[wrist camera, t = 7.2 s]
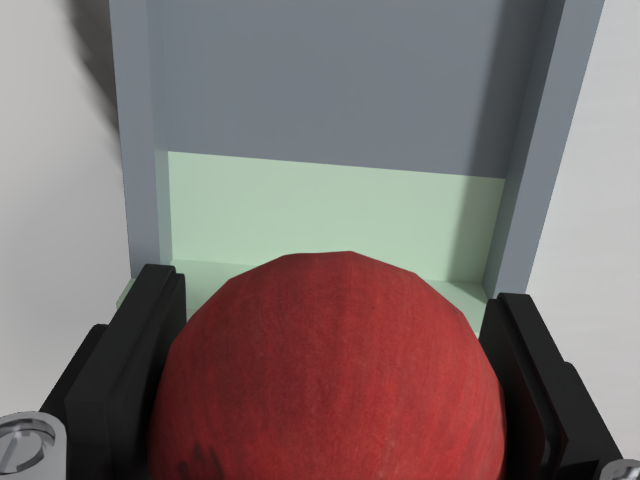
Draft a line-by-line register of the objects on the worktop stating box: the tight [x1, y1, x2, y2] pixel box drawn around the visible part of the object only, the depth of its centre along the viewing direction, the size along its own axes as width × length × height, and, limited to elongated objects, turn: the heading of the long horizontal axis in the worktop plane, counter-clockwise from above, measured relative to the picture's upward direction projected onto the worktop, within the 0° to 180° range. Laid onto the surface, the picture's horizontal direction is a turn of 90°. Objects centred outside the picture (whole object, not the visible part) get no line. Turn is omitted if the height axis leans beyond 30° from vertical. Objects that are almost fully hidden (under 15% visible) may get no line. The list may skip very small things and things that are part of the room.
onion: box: [146, 251, 507, 480], centre depth 10 cm, size 6×6×8 cm
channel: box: [109, 0, 605, 339], centre depth 17 cm, size 19×13×4 cm
